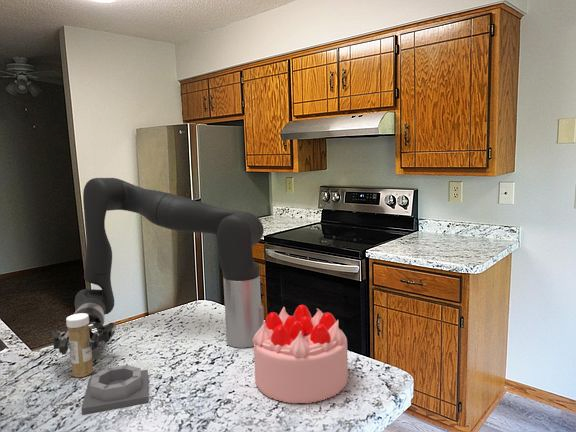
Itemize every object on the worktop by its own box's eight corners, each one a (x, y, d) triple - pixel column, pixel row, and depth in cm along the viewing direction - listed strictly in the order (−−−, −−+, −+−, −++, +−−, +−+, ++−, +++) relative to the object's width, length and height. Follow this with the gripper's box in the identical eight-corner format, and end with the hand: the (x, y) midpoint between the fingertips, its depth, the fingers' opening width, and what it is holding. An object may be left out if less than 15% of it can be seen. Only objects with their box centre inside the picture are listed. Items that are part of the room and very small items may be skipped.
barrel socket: (147, 374, 100) (146, 359, 99) (148, 402, 88) (146, 385, 88) (89, 384, 96) (87, 368, 96) (81, 414, 85) (80, 396, 84)
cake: (362, 396, 89) (362, 327, 87) (263, 413, 84) (260, 340, 82) (329, 354, 107) (328, 296, 105) (246, 365, 103) (244, 306, 101)
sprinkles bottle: (95, 374, 101) (90, 316, 99) (73, 380, 98) (67, 321, 96) (91, 366, 104) (86, 310, 102) (70, 372, 102) (64, 315, 100)
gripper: (54, 311, 111) (39, 336, 95) (116, 303, 115) (112, 327, 99) (58, 339, 112) (43, 370, 96) (119, 331, 116) (114, 359, 100)
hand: (78, 348), depth 98 cm, fingers open, 5 cm apart
